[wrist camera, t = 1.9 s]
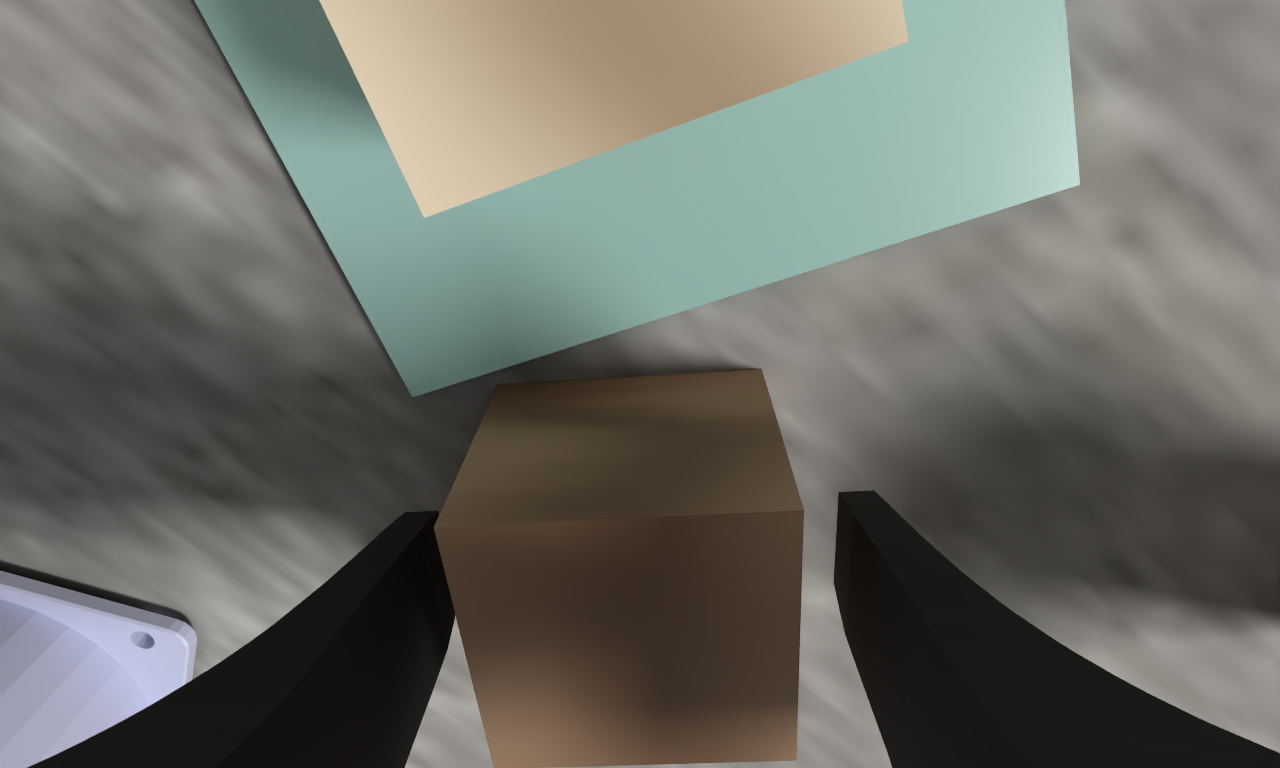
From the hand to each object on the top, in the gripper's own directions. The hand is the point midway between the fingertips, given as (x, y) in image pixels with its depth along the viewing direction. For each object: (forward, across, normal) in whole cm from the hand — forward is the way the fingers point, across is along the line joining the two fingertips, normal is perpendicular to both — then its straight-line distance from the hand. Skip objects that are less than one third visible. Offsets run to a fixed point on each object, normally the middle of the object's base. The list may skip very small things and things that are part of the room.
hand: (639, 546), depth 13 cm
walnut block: (+2, 0, 0) cm, 2 cm away
